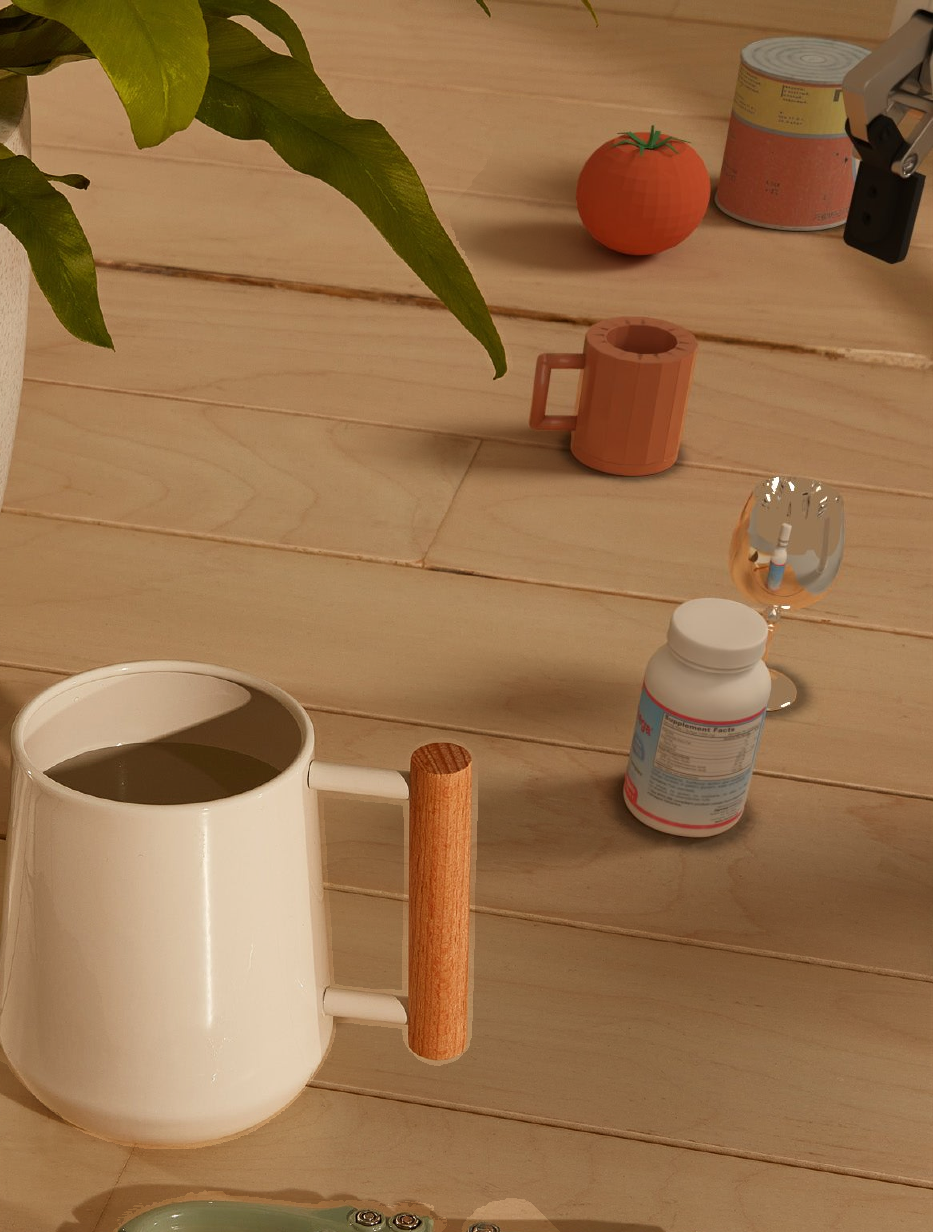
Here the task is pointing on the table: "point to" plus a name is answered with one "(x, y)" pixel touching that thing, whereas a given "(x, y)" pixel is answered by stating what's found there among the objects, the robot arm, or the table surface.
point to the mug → (623, 394)
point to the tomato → (643, 192)
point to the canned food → (790, 135)
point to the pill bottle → (700, 720)
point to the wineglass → (787, 554)
